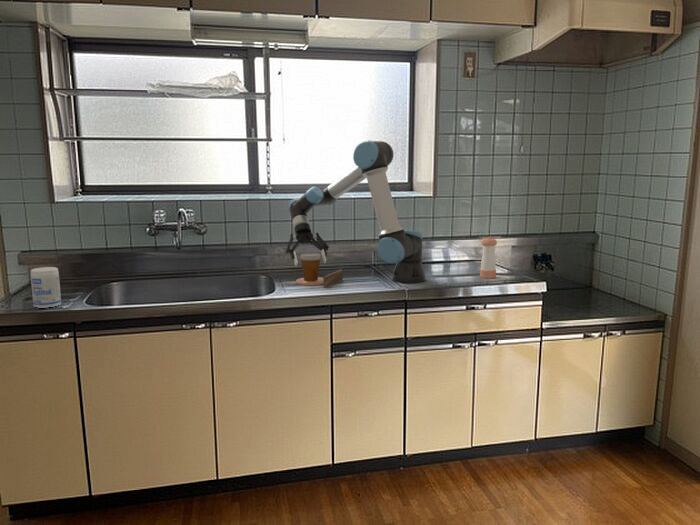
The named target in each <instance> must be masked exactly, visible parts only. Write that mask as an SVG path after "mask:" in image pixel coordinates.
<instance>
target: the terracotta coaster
mask: <svg viewBox="0 0 700 525" xmlns="http://www.w3.org/2000/svg"><path fill="white" fill-rule="evenodd" d="M295 284H297V285H301V286H321V284H322V285H324V277H321V276H318V280H317V281H305V280H304V277H300V278H297V279H296V280H295Z"/></svg>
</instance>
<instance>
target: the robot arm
mask: <svg viewBox="0 0 700 525" xmlns="http://www.w3.org/2000/svg"><path fill="white" fill-rule="evenodd" d="M352 157H353V159H352V160H353V162H354V165H355V166H354V167H352V168H351V169H350V170H348V171H346V172H345V173H344V174H343V175H342V176H341V175H340V177H338V178H337V179H336V180H335V181H333V182H332V183H330V184H329V185H328V186H326V187H325V188H323V189H321V188H319V187H317V186H311V187H310V188H309V189H308V190H306V192H304V194H302V196H301V197H295V198H293V199H291V200H290V201H288V202H289V203H288V210H289V213H290V217H291V222H292V226H293V230H294V233H295V234H294V235H293V233H290V235H289V241H288V243H287V246H286V251H285V254H289V255H290V258H291V260H293V262H294V266H295V267H298V263H299V261H298V256H297V254H296V250H297V248H298V247H299V246H300V245H301V244H302V245H303V244H305V245H306V244H310V245H313V246H314V247H316V248H317V250H320V253H321V254H320V256H321V258H322V261H323V264H324V265H326V264H327V255H328V253H327V251H329V248H330V245H328V244H327V242H326V241H324V239H322V237H321V236H320V234H319V232H316V233H312V230H311V226H310V222H309V221H310V220H309V218H308V213H309V212H310V211H312V209H313V208H315V207H321V206H330V205H333V204H335V203H337V201H338V199H339V198H340V197H341V196H343V195H344V194H346V193H347V192H349V191H350V190H351V189H353V188H354V187H356V186H357V185H359V184H361V182H363V181H364V180H367V184H368V188H369V192H370V196H371V199H372V204H373V208H374V210H375V214H376V219H377V223H378V227H379V233H378V235H377V237H378V244H377V246H376V251H377V255H378V256H379V258H380V259H381V260H382V261H384V262H385V263H388V264H395V266H394V269H393V272H392V281H394V282H397V281H398V283H403V282H404V283H405V284H407V283H408V284H414V283H422V282H425V280H426V272H425V270H424V266H423V263H422V261H423V256H422V255H423V232H421V231H419V230H408V229H406V230H405V229H404V228H403V227H402V226H400V222H399V218H398V215H397V211H396V208H395V202H394V200H393V197H392V196H393V195H392V193H391V192H392V191H391V188H390V184H389V180H388V176H387V171H388V170H389V166H390V164H391V163H392V162H393V160H394V148H392V146H391V145H390V144H389V143H388V142H386V141H381V140H380V141H376V140H367V141H361V142H359V143H358V144H357V145H356V147H355V148H354V150H353V154H352ZM294 240H297V241H296V242H295V243H294V245H293V246H292V244H293V241H294Z"/></svg>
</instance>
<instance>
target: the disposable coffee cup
mask: <svg viewBox="0 0 700 525" xmlns="http://www.w3.org/2000/svg"><path fill="white" fill-rule="evenodd" d="M299 258H300V262H301V268H302V274H303V278H304V280H305V281H317V280H318V277H319V272H320V263H321V262H320V261H321V258H322V255H321V254H320V253H317V252H305V253H301V254H300V256H299Z"/></svg>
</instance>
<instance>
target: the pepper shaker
mask: <svg viewBox="0 0 700 525" xmlns="http://www.w3.org/2000/svg"><path fill="white" fill-rule="evenodd" d="M497 244H498V242H497V240H496V239H495V238H492V236H488V237H486V238H483V239H482V240H481V245H482V256H481V261H480V269H479V277H480V278H482V279H495V278H496V276H497V270H496V264H497V263H496V245H497Z"/></svg>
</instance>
